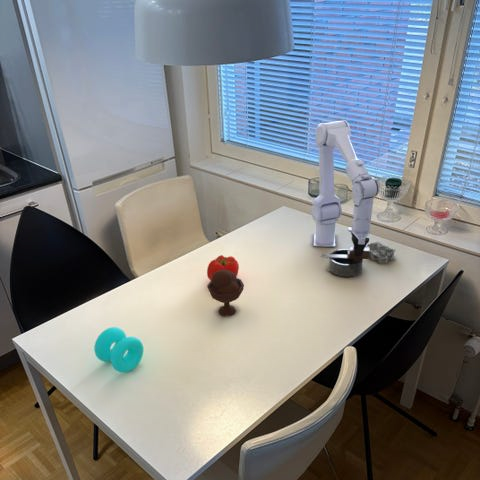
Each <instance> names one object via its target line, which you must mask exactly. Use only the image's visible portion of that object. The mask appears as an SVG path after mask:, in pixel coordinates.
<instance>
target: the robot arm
mask: <svg viewBox="0 0 480 480" xmlns="http://www.w3.org/2000/svg"><path fill="white" fill-rule="evenodd" d="M314 133H315V147H316V148H317V149H318V176H319V177H318V179H319V181H318V183H319V195H317V197H315V198H314V199H313V200H312V206H311V217H312V220H313V221H315V231H314V232H315V233H314V234H313V246H314V247H322V248H324V247H325V248H326V247H327V248H335V247H336V234H335V233H336V223H337V222H338V220H339V218H341V216H342V213H343V209H342V208H343V207H342V204H341V199H340V197H339V196H337V195H336V194H335V153H334V152H335V148H336V149H337V150H338V152H339V154H340V155H341V158H342V159H343V160H344V162H345V164H346V166H345V168H344V169H345V172H346V175H347V176H348V178H349V181H350V182H351V185H352V187H351V193H352V201H353V204H354V205H353V213H352V222H351V226H349V227H348V228H347V231H348V232H349V233H350V234H351V242H352V244H353V247H354V252H355V256H360V257H361V256H362V254H363V251H364V248H365V246H366V247H367V245H368V244H369V242H370V238H369V237H368V236H369V235H370V233H371V222H372V216H373V215H372V214H373V207H374V198H375V197H377V196H378V194H379V191H380V185H379V183H378V180H377V179H376V178H375V177H373V176H372V175H370V174H369V172H368V169H367V168H366V165H365V164H364V161H363V160H362V159H360V158H357V155H356V152H355V150H354V147H353V144H352V142H351V139H350V138H351V127H350V124H349V122H348V121H347V120H346V119H342V120H337V121H331V122H325V123H322V122H320V123H319V124H318V125H317V126H316V128H315V132H314Z"/></svg>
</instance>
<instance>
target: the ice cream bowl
mask: <svg viewBox="0 0 480 480" xmlns="http://www.w3.org/2000/svg"><path fill="white" fill-rule="evenodd" d="M237 277H238V276H237ZM237 277H236V274H234V273H233V272H231V271H228V270H219V271H217V272H215V273H214V274H213V276H212V279H211V280H210V281H209V283H208V284H207V286H206V287H207V290H208V292H209V294H210V296H211V298H212V299H213V300H215V301H216V302H220V303H222V304H223V305H222V306H220V307H219V308H218V314H219V315H220V316H223V317H231V316H234V315H235V314H236V312H237V309H236V307H235V306H233V305H231V304H230V303H232V302H234V301H236V300H238V299H239V298H240V297H241V295H242V293H243V291H244V288H245V284H244V282H243V281H242V279H240V278H237Z"/></svg>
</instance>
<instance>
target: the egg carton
mask: <svg viewBox="0 0 480 480" xmlns="http://www.w3.org/2000/svg"><path fill="white" fill-rule="evenodd" d="M365 248H370V254H369V258H370V260H372V261H378V263H379V264H387V263H388V261H393V260H394V255H395V253H396V251H397V249H395V248H391V247H390V246H388V245H385V244H382V242H380V241H374V242H370V243H367V245H366V246H365Z"/></svg>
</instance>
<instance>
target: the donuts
mask: <svg viewBox="0 0 480 480" xmlns="http://www.w3.org/2000/svg"><path fill="white" fill-rule="evenodd" d="M113 344H114V345H113ZM112 345H113V346H112ZM111 347H112V348H111ZM93 348H94V350H93V351H94V354H95V356H96V358H97V359H98V360H99V361H101V362H104V363H111V366H112V368H113V369H114V370H115V371H116V372H119V373H128V372H131V371H133V370H134V369H135V368H136V367H137V366H138V365H139V364H140V363H141V361H142V358H143V355H144V345H143V342H142V341H141V340H140V339H139V338H137V337H135V336H127V335H126V333H125V331H124V330H123V329H121V328H120V327H116V326H112V327H108V328H106V329H104V330H103V331H102V332H100V334H99V335H98V336H97V338H96V340H95V343H94V347H93Z"/></svg>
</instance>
